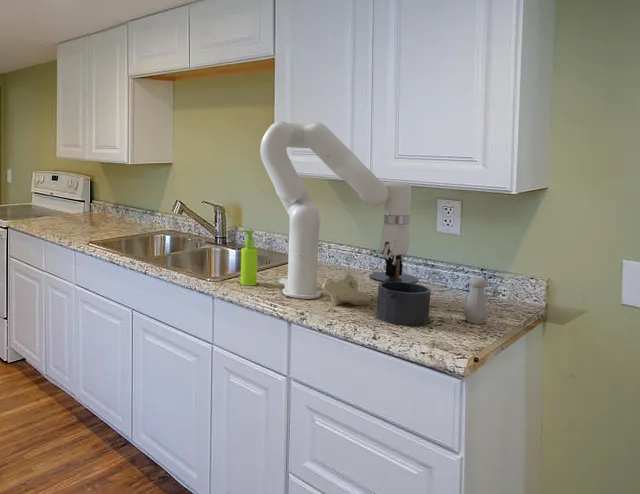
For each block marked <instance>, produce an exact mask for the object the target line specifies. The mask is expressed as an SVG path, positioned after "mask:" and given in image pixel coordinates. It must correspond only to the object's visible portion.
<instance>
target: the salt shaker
mask: <svg viewBox="0 0 640 494" xmlns="http://www.w3.org/2000/svg"><path fill="white" fill-rule="evenodd" d="M468 284H469V286H470V289H469V292H468V296H467V300H466V302H465V306H464V311H463V316H464V317H465V321H466V322H467V323H469V324H473V325H482V324H483V323H484V322H485V321H486V319H487V318H488V309H487V302H486V301H487V300H486V295H485V294H486V293H485V288H486V287H487V285H488V282H487V279H485V278H483V277H477V276H475V277H470V278H469V281H468Z"/></svg>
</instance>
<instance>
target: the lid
mask: <svg viewBox="0 0 640 494" xmlns="http://www.w3.org/2000/svg"><path fill="white" fill-rule="evenodd" d="M395 265H396V277H390V276H386V271H379V272H372V273H370V274H369V279H370V280H373V281H375V282H378V283H383V282H407V283H414V284H419V281H420V279H419V278H418V277H416V276H415V275H411V274H407V273H402V275H399V265H400V259H396V261H395Z"/></svg>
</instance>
